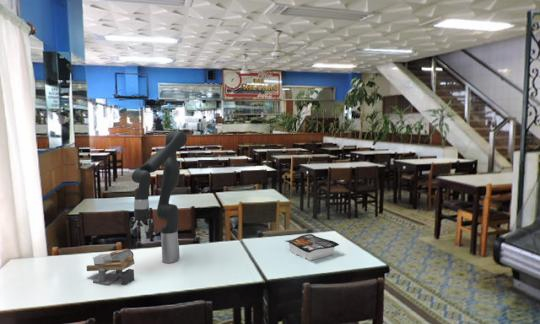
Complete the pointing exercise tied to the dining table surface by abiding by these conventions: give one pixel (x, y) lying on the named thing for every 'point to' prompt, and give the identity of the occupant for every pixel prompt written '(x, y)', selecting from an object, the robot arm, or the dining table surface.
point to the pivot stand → (115, 277)
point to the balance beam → (113, 265)
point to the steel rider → (102, 259)
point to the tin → (121, 254)
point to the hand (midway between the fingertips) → (141, 237)
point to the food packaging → (312, 247)
